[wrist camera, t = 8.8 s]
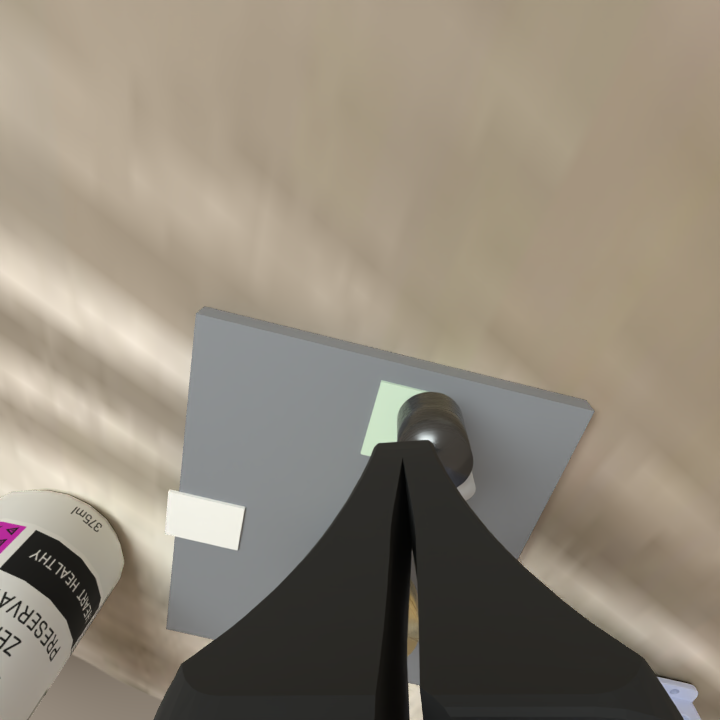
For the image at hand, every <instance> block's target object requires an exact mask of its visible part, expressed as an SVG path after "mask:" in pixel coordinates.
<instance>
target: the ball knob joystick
mask: <svg viewBox="0 0 720 720" xmlns="http://www.w3.org/2000/svg"><path fill="white" fill-rule="evenodd" d="M418 440H429V441H431V442H432V443H433V444H434V448H435V450H436V453H437V455H438V457H439V459H440V461H441V463H442V465H443V467H444V468H445V470H446V472H447V474H448V475H449V477H450V479H451V480H452V482H453V483H454V485H455V486H456V488H457V487H459V486H460V485H461V484H463V483H464V482H465V481H466V480H467V478H468V477H469V475H470V474H471V471H472V468H473V455H472V451H471V447H470V443H469V439H468V435H467V431H466V427H465V423H464V419H463V415H462V412H461V409H460V407H459V406H458V404H457V403H456V402H455V401H454V400H453V399H452V398H450V397H449V396H447V395H445V394H442V393H438V392H423V393H419V394H416V395H414V396H412V397H410V398H409V399H408V400H406V401H405V402H404V404H403V405H402V406H401V408H400V410H399V412H398V415H397V442H402V441H418ZM418 640H419V620H418V594H417V590H416V588H415V585H414V584H413V582H412V580H411V579H410V598H409V618H408V637H407V657H408V656H409V655H410V654H411V653H412V651H413V650H414V649H415V647H416V645H417V643H418Z"/></svg>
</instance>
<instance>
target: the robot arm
mask: <svg viewBox="0 0 720 720" xmlns="http://www.w3.org/2000/svg"><path fill="white" fill-rule="evenodd" d="M412 550H413V557H414V564H415V570H416V577H417V586H418V620H419V667H420V694H421V702H422V711H423V720H701V718H700V716H699V714H698V712H697V710H696V709H695V707H694V705H693V703H692V702H693V701H694V700H695V698H696V697H697V696H698V691H697V689H696V688H695V686H694V685H691V684H688V683H683V682H679V681H675V680H670V679H666V678H661V677H657V676H656V675H655V674H654V672H653V671H652V669H651V668H650V666H649V665H648V663H647V662H646V661H645V659H644V658H643V657H641V656H640V655H638V654H637V653H635V652H634V651H632V650H631V649H629V648H628V647H626V646H625V645H624V644H622V643H621V642H619V641H618V640H616V639H615V638H613V637H612V636H610V635H609V634H607V633H606V632H604V631H603V630H601V629H600V628H598V627H597V626H595V625H594V624H592V623H591V622H590V621H588V620H587V619H586V618H584V617H583V616H582V615H581V614H579V613H578V612H577V611H575V610H574V609H573V608H571V607H570V606H569V605H568V604H566V603H565V602H564V601H562V600H561V599H560V598H559V597H558V596H557V595H556V594H554V593H553V592H552V591H551V590H550V589H549V588H548V587H546V586H545V585H544V584H543V583H542V582H541V581H539V580H538V579H537V578H536V577H535V576H534V575H533V574H531V573H530V572H529V571H528V570H527V569H526V568H525V567H524V566H523V565H522V564H521V563H520V562H519V561H518V560H517V559H516V558H515V557H514V556H513V555H512V554H511V553H510V552H509V551H508V550H507V549H506V548H505V547H504V546H503V545H502V544H501V543H500V542H499V541H498V540H497V539H496V538H495V537H494V535H493V534H492V533H491V532H490V531H489V530H488V529H487V527H486V526H485V525H484V524H483V523H482V521H481V520H480V519H479V518H478V516H477V515H476V514H475V513H474V511H473V510H472V509H471V507H470V506H469V505H468V503H467V502H466V501H465V499H464V498H463V497H462V495H461V494H460V492H459V491H458V489H457V488H456V486H455V485H454V483H453V482H452V480H451V479H450V477H449V475H448V474H447V472H446V470H445V468H444V467H443V465H442V463H441V461H440V459H439V457H438V455H437V453H436V450H435V448H434V444H433V443H432V442H431V441H429V440H418V441H402V442H387V443H378V444H377V445H376V446H375V447H374V449H373V451H372V454H371V456H370V459H369V461H368V463H367V465H366V467H365V469H364V471H363V473H362V475H361V477H360V479H359V480H358V482H357V484H356V486H355V487H354V489H353V491H352V493H351V494H350V496H349V498H348V499H347V501H346V503H345V504H344V506H343V507H342V509H341V510H340V512H339V513H338V514H337V516H336V517H335V519H334V520H333V522H332V523H331V525H330V526H329V528H328V529H327V530H326V532H325V533H324V534H323V536H322V537H321V538H320V539H319V541H318V542H317V543H316V544H315V546H314V547H313V548H312V549H311V550H310V552H309V553H308V554H307V555H306V556H305V558H304V559H303V560H302V561H301V562H300V563H299V564H298V565H297V566H296V567H295V568H294V570H293V571H292V572H291V573H290V574H289V575H288V576H287V577H286V578H285V579H284V580H283V581H282V582H281V583H280V584H279V585H278V586H277V587H276V588H275V589H274V590H273V591H272V592H271V593H270V594H269V595H268V596H267V597H265V598H264V599H263V600H262V601H261V602H260V603H259V604H258V605H257V606H255V607H254V608H253V609H252V610H251V611H250V612H249V613H248V614H247V615H245V616H244V617H243V618H242V619H241V620H240V621H238V622H237V623H236V624H235V625H233V626H232V627H231V628H230V629H228V630H227V631H226V632H224V633H223V634H222V635H220V636H219V637H218V638H216V639H215V640H214V641H212V642H211V643H210V644H208V645H207V646H206V647H204V648H203V649H202V650H200V651H199V652H198V653H196V654H195V655H193V656H192V657H191V658H189V659H188V660H186V661H185V662H183V663H182V664H181V666H180V668H179V670H178V672H177V674H176V676H175V678H174V680H173V681H172V683H171V685H170V687H169V688H168V690H167V692H166V694H165V696H164V698H163V700H162V702H161V704H160V706H159V708H158V711H157V713H156V715H155V718H154V720H409V695H408V668H407V637H408V618H409V598H410V579H411V558H412Z"/></svg>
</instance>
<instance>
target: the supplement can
mask: <svg viewBox="0 0 720 720" xmlns="http://www.w3.org/2000/svg"><path fill="white" fill-rule="evenodd" d="M123 566H124V558H123V554H122V549H121V545H120V543H119V541H118V536H117V534H116V532H115V531H114V529H113V528H112V526H111V525H110V523H109V522H108V520H107V519H106V518H105V517H104V516H102V515H101V514H100V513H99V512H98V511H96V510H95V509H94V508H93V507H92V506H90V505H89V504H87V503H85V502H83V501H81V500H79V499H77V498H75V497H73V496H70V495H67V494H63V493H58V492H53V491H49V490H43V491H38V490H29V491H15V492H10V493H8V494H6V495H4V496H2V497H0V720H29V719H30V718H31V716H32V715H33V713H34V712H35V710H36V709H37V707H38V705H39V704H40V702H41V700H42V699H43V698H44V696H45V695H46V693H47V691H48V690H49V688H50V687H51V685H52V684H53V682H54V680H55V679H56V677H57V676H58V674H59V673H60V671H61V670H62V668H63V666H64V665H65V663H66V662H67V660H68V659H69V657H70V656H71V654H72V652H73V651H74V649H75V648H76V646H77V645H78V643H79V642H80V640H81V638H82V637H83V635H84V634H85V632H86V631H87V629H88V628H89V626H90V624H91V623H92V621H93V620H94V618H95V617H96V615H97V614H98V612H99V610H100V609H101V607H102V606H103V604H104V603H105V601H106V600H107V598H108V596H109V595H110V593H111V592H112V590H113V589H114V587H115V586H116V584H117V582H118V581H119V579H120V577H121V573H122V569H123Z"/></svg>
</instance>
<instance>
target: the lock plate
mask: <svg viewBox="0 0 720 720" xmlns="http://www.w3.org/2000/svg"><path fill="white" fill-rule="evenodd" d="M423 392H438V393H442V394H445V395H447V396H449V397H450V398H452V399H453V400H454V401H455V402H456V403H457V404H458V406H459V407H460V409H461V412H462V415H463V419H464V423H465V427H466V431H467V435H468V439H469V443H470V447H471V451H472V455H473V468H472V471H471V474H470V475H469V477H468V478H467V480H466V481H465V482H464V483H463V484H461V485H460V486H459V487H457V489H458V491H459V492H460V494H461V495H462V497H463V498H464V499H465V501H466V502H467V503H468V505H469V506H470V507H471V509H472V510H473V511H474V513H475V514H476V515H477V516H478V518H479V519H480V520H481V521H482V523H483V524H484V525H485V526H486V527H487V529H488V530H489V531H490V532H491V533H492V534H493V535H494V537H495V538H496V539H497V540H498V541H499V542H500V543H501V544H502V545H503V546H504V547H505V548H506V549H507V550H508V551H509V552H510V553H511V554H512V555H513V556H514V557H515V558H516V559H517V560H518V558H519V556H520V554H521V552H522V550H523V548H524V546H525V544H526V542H527V540H528V539H529V537H530V535H531V533H532V531H533V529H534V527H535V525H536V523H537V521H538V519H539V517H540V515H541V513H542V512H543V510H544V508H545V506H546V504H547V502H548V500H549V498H550V496H551V494H552V492H553V490H554V488H555V487H556V485H557V483H558V481H559V479H560V477H561V475H562V473H563V471H564V469H565V467H566V465H567V463H568V461H569V460H570V458H571V456H572V454H573V452H574V450H575V448H576V446H577V444H578V442H579V440H580V438H581V436H582V435H583V433H584V431H585V429H586V427H587V425H588V423H589V421H590V419H591V417H592V415H593V413H594V410H593V409H592V407H591V406H590V405H589V403H588V402H587V401H586V400H583V399H579V398H575V397H571V396H567V395H563V394H558V393H554V392H550V391H546V390H542V389H538V388H534V387H530V386H526V385H522V384H518V383H514V382H510V381H506V380H502V379H497V378H493V377H489V376H485V375H481V374H477V373H473V372H469V371H465V370H461V369H457V368H453V367H449V366H445V365H441V364H436V363H432V362H428V361H424V360H420V359H416V358H412V357H408V356H404V355H400V354H396V353H392V352H388V351H384V350H380V349H375V348H371V347H367V346H363V345H359V344H355V343H351V342H347V341H343V340H339V339H335V338H331V337H327V336H323V335H318V334H314V333H310V332H306V331H302V330H298V329H294V328H290V327H286V326H282V325H278V324H274V323H270V322H266V321H262V320H257V319H253V318H249V317H245V316H241V315H237V314H233V313H229V312H225V311H221V310H217V309H213V308H209V307H203V308H202V309H201V310H200V311H198V312H197V313H196V319H195V330H194V340H193V351H192V362H191V372H190V383H189V393H188V404H187V415H186V425H185V436H184V447H183V457H182V468H181V479H180V489H179V491H175V490H169V491H168V503H167V515H166V527H165V534H167V535H172V536H175V542H174V553H173V564H172V574H171V585H170V596H169V606H168V617H167V627H166V629H169V630H173V631H178V632H182V633H187V634H191V635H196V636H200V637H205V638H209V639H214V640H215V639H216V638H218V637H219V636H220V635H222V634H223V633H224V632H226V631H227V630H228V629H230V628H231V627H232V626H233V625H235V624H236V623H237V622H238V621H240V620H241V619H242V618H243V617H244V616H245V615H247V614H248V613H249V612H250V611H251V610H252V609H253V608H254V607H255V606H257V605H258V604H259V603H260V602H261V601H262V600H263V599H264V598H265V597H267V596H268V595H269V594H270V593H271V592H272V591H273V590H274V589H275V588H276V587H277V586H278V585H279V584H280V583H281V582H282V581H283V580H284V579H285V578H286V577H287V576H288V575H289V574H290V573H291V572H292V571H293V570H294V568H295V567H296V566H297V565H298V564H299V563H300V562H301V561H302V560H303V559H304V558H305V556H306V555H307V554H308V553H309V552H310V550H311V549H312V548H313V547H314V546H315V544H316V543H317V542H318V541H319V539H320V538H321V537H322V536H323V534H324V533H325V532H326V530H327V529H328V528H329V526H330V525H331V523H332V522H333V520H334V519H335V517H336V516H337V514H338V513H339V512H340V510H341V509H342V507H343V506H344V504H345V503H346V501H347V499H348V498H349V496H350V494H351V493H352V491H353V489H354V487H355V486H356V484H357V482H358V480H359V479H360V477H361V475H362V473H363V471H364V469H365V467H366V465H367V463H368V461H369V459H370V456H371V454H372V451H373V449H374V447H375V446H376V445H377V444H378V443H387V442H397V415H398V412H399V410H400V408H401V406H402V405H403V404H404V402H405V401H406V400H408V399H409V398H410V397H412V396H414V395H416V394H419V393H423ZM411 580H412V582H413V584H414V585H415V588H416V590H417V594H418V586H417V577H416V570H415V564H414V557H413V550H412V558H411ZM407 668H408V683H412V684H416V685H420V667H419V640H418V643H417V645H416V647H415V649H414V650H413V651H412V653H411V654H410V655H409V656H408V657H407Z"/></svg>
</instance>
